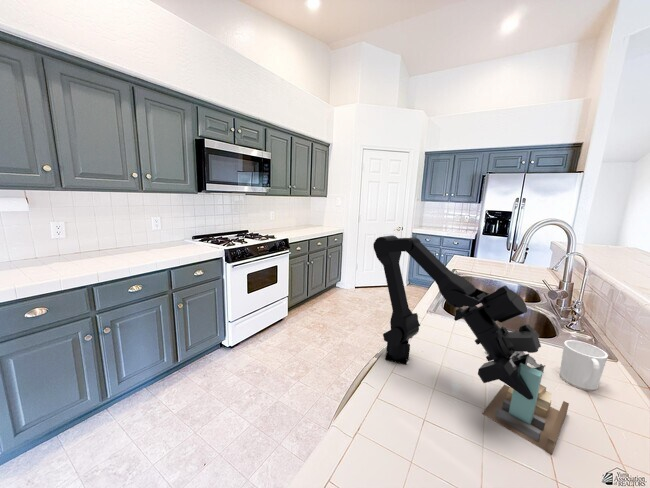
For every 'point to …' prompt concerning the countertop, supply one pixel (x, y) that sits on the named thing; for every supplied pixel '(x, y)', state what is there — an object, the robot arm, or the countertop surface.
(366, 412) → the countertop surface
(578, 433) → the countertop surface
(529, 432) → the rack
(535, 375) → the block
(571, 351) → the mug
